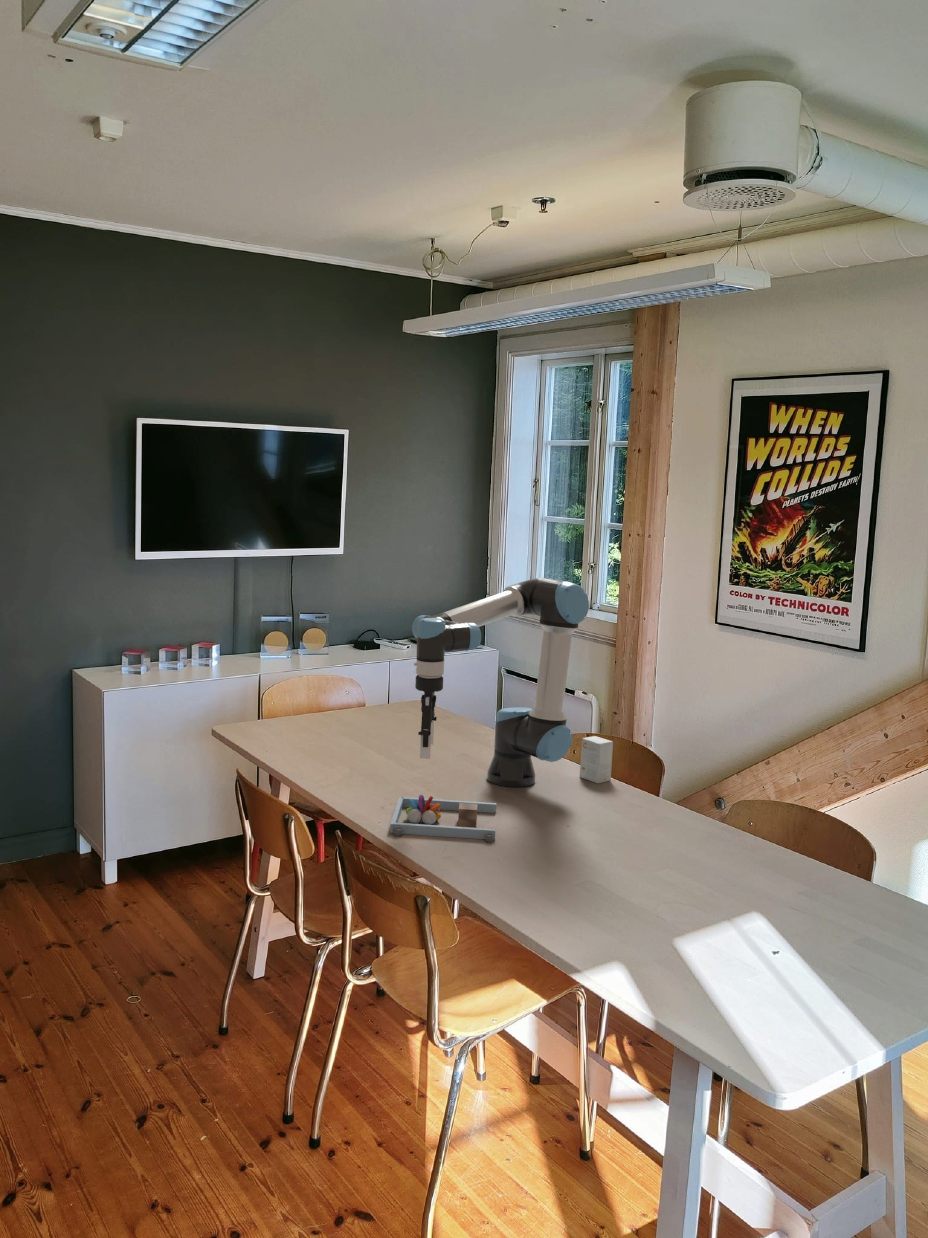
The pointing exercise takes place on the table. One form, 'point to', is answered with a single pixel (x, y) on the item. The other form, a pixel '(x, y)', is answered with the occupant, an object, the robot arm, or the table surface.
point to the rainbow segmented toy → (423, 811)
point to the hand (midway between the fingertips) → (426, 751)
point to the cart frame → (442, 830)
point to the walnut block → (467, 815)
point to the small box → (596, 759)
